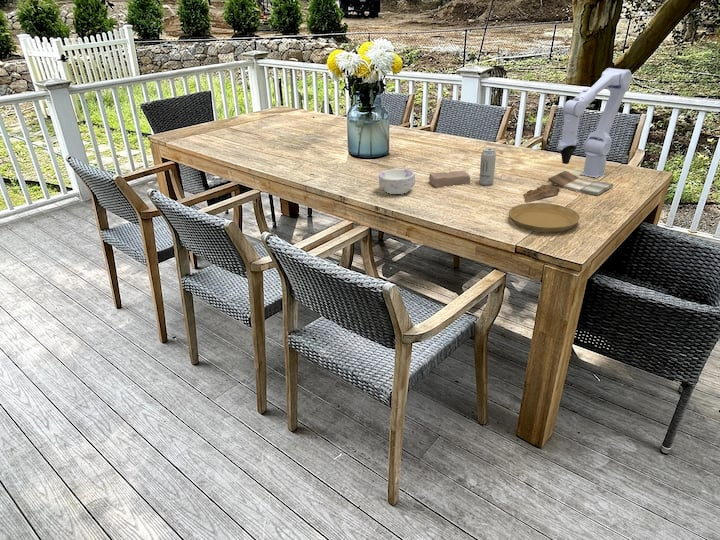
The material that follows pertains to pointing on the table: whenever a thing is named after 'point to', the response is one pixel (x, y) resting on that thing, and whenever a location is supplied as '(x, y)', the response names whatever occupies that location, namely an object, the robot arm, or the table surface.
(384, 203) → the table surface
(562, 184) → the walnut plank
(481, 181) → the energy drink can
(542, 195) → the fossil skeleton slab
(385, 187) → the paper bowls
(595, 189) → the grey oak plank
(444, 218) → the table surface
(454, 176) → the brick
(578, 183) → the ash board
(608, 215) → the table surface
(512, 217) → the plant saucer
